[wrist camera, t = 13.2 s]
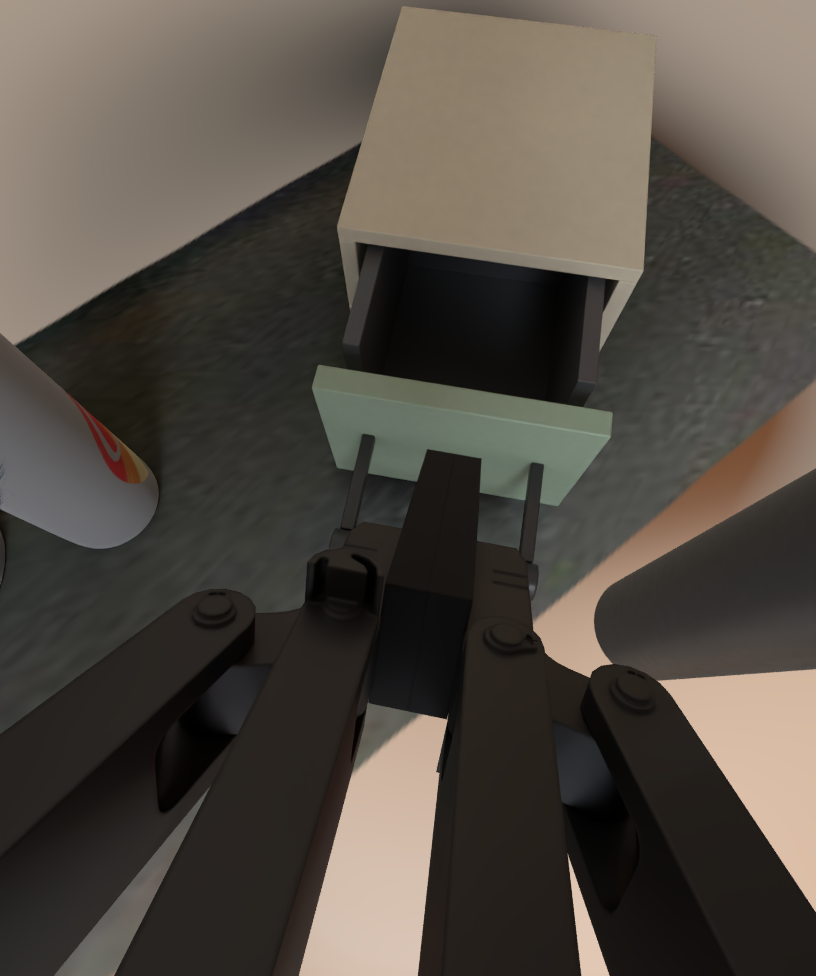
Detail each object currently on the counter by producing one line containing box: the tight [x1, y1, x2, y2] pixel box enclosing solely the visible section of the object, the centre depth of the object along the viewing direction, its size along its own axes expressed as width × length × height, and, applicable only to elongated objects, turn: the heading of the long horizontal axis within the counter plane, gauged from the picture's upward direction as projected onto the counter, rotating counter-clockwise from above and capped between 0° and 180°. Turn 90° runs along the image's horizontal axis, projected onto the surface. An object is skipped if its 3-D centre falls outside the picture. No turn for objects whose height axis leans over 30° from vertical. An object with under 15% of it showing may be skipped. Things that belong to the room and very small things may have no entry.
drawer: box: [312, 244, 613, 601], centre depth 29 cm, size 21×12×9 cm, turn 169°
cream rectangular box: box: [337, 6, 656, 352], centre depth 33 cm, size 16×14×11 cm
